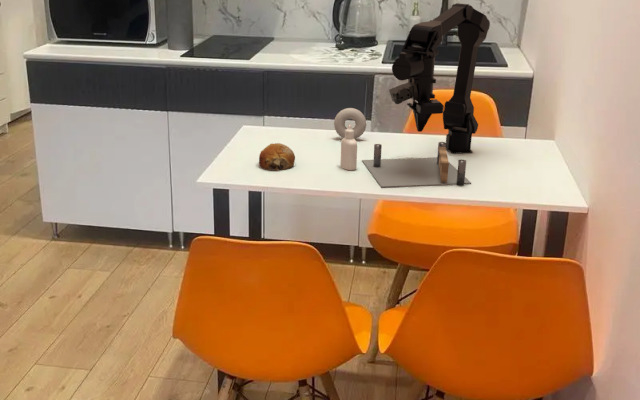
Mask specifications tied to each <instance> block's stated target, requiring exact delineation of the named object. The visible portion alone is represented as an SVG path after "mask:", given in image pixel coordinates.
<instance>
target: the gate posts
mask: <svg viewBox="0 0 640 400" xmlns="http://www.w3.org/2000/svg"><path fill="white" fill-rule="evenodd" d="M437 145H438V147H437V156H436V157H437V164H438V165H439V147H446V141H444V142H443V141H439V142H438V143H437ZM382 149H383V148H382V144H380V143H375V144H374V146H373V160H374V162H373V167H381V159H382ZM466 168H467V160H466V159H458V161H457V170H458V171H457V182H456V183H457V185H456V186H459V187H464V186H465V184H464V181H465V177H466Z"/></svg>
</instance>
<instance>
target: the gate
mask: <svg viewBox="0 0 640 400" xmlns="http://www.w3.org/2000/svg"><path fill="white" fill-rule="evenodd" d="M447 151H448V150H447V149H446V147H439V168H440V174H441V181H443V182H447V178H448V166H449V162H450V161H449V157H448V153H447Z"/></svg>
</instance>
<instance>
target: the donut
mask: <svg viewBox="0 0 640 400" xmlns="http://www.w3.org/2000/svg"><path fill="white" fill-rule="evenodd" d="M348 120H353V121H354V123H355V125H354V127H353V128H352V129H353V130H354V139H355V140H356V139H359V138H360V137H361V136H362V135H364V133H365V131H366V128H367V119H366V116H365V115H364V114H363V112H361V110H359V109H356V108H353V107H347V108H343V109H342V110H340V111H339V112H338V113H336V116H335V118H334V121H333V126H334V127H333V128H334V130H335V133H336V134H337V135H338V136H339V137H341V139H343V138H345V130H346V129H348V127H347V126H346V121H348Z"/></svg>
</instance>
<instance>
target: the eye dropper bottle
mask: <svg viewBox="0 0 640 400" xmlns="http://www.w3.org/2000/svg"><path fill="white" fill-rule="evenodd" d="M347 128H348V129H346V130H345V138H341V141H340V167H341V168H342V169H344V170H347V171H355V170H357V167H358V166H357V163H358V162H357V161H358V160H357V159H358V142H357V141H356V139H354V130H353V128H352V124H348V126H347Z"/></svg>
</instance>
